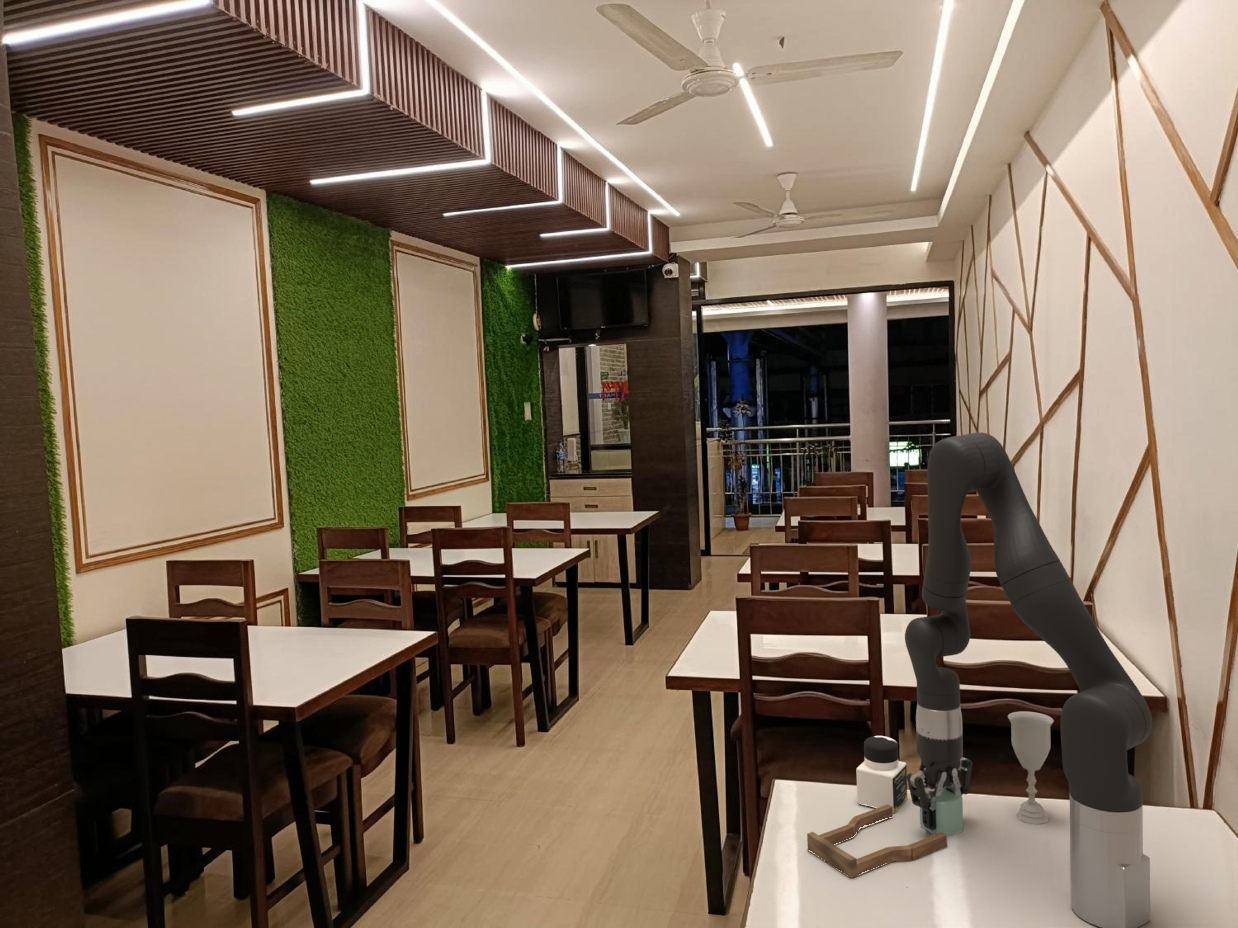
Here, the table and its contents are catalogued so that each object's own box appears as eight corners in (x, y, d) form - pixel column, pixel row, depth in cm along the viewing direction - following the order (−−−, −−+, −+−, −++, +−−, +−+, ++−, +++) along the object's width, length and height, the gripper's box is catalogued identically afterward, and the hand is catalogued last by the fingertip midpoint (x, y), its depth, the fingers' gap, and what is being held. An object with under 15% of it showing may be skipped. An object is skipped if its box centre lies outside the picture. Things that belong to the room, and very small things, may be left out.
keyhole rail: (947, 846, 148) (946, 829, 148) (858, 882, 139) (857, 864, 139) (887, 814, 160) (887, 798, 160) (801, 846, 151) (801, 829, 150)
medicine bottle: (894, 814, 160) (892, 750, 159) (856, 804, 165) (854, 742, 164) (908, 798, 166) (906, 736, 165) (871, 789, 170) (869, 729, 169)
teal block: (963, 830, 153) (962, 797, 153) (943, 838, 151) (942, 804, 150) (940, 818, 158) (939, 786, 157) (920, 826, 155) (919, 793, 155)
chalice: (1008, 821, 155) (1006, 722, 154) (1010, 804, 161) (1009, 709, 160) (1054, 829, 152) (1053, 727, 150) (1055, 811, 158) (1054, 714, 156)
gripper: (926, 745, 146) (929, 844, 148) (985, 726, 153) (987, 820, 154) (892, 731, 153) (895, 826, 154) (950, 713, 160) (952, 804, 161)
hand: (941, 823), depth 154 cm, fingers closed on teal block, 5 cm apart
